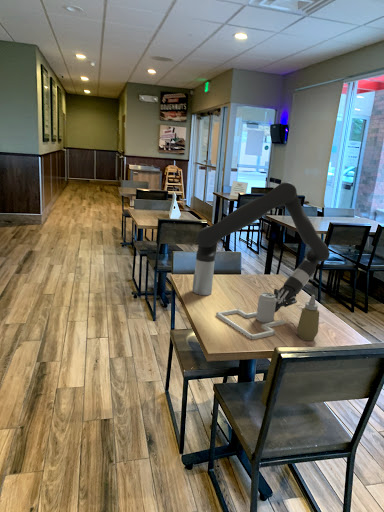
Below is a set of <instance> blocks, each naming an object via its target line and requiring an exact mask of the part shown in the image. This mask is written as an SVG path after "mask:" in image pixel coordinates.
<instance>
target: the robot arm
mask: <svg viewBox="0 0 384 512" xmlns="http://www.w3.org/2000/svg"><path fill="white" fill-rule="evenodd" d="M297 192H298V191H297V188H296V186H295V185H294V184H293V183H291V182H289V181H284V182H281V183H279V184H278V185H276V187H274V188H273V189H271V190H270V191H269V192H267V193H266V194H264V195H262V196H260V197H258V198H256V199H253V200H251V201H249V202H247V203H245V204H243V205H241V206H240V207H237V208H236V209H235V210H233V211H232V212H231V213H229V214H228V215H226V216H225V217H224V218H223V219H221V220H220V221H218V222H217V223H214V224H213V225H210V226H205V227H203V228H201V229H200V230H199V231H198V233H197V234H196V243H197V245H198V247H197V250H196V256H195V257H196V258H195V270H194V273H193V278H192V279H193V281H192V289H191V290H192V291H191V292H194V294H196V295H198V294H199V296H209V295H212V293H213V292H212V291H213V281H214V270H215V263H216V262H215V260H216V255H217V247H218V242H219V241H220V240H221V239H223V238H225V237H226V236H229V235H231V234H233V233H235V232H237V231H240V230H242V229H244V228H246V227H248V226H249V225H251V224H254V223H255V222H256V221H258V220H259V219H261V218H262V217H264V216H265V215H266V214H267V213H269V212H270V211H272V210H274V209H276V208H278V207H280V206H282V205H283V206H284V207H285V209H286V210H287V211H288V213H289V215H290V217H291V219H292V222H293V223H294V227H295V229H296V231H297V233H298V235H299V237H300V239H301V241H302V242H303V243H304V244H305V245H306V246H308V247H309V248H310V249H309V250H308V251H307V253H306V254H305V256H304V258H303V259H302V262H301V263H299V265H298V266H297V268H296V269H295V270H294V271H293V272H291V274H290V275H289V276H288V278H287V279H286V280H285V282H283V286H282V287H280V288H279V289H276V288H274V289H273V294H274V295H275V298H276V299H277V300H276V307H275V313H277V312H279V310H280V309H281V308H282V307H284V308H286V307H289V306H292V305H295V304H296V303H298V300H297V299H296V297H297V295H299V293H300V292H301V291H302V290H303V288H304V287H305V286H306V285H307V283H309V282H308V281H309V280H310V278H311V277H313V275H314V274H315V272H316V269H317V266H318V264H319V263H321V262H325V261H327V260H328V259H329V258H330V249H329V246H328V245H327V244H326V242H325V241H324V240H323V238H321V237H320V236H319V234H318V233H317V230H316V229H315V227H314V225H313V223H312V221H311V220H310V218H309V217H308V215H307V214H306V212H305V210H304V208H303V206H302V204H301V201H300V199H299V195H298V193H297Z"/></svg>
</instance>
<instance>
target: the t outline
mask: <svg viewBox="0 0 384 512" xmlns="http://www.w3.org/2000/svg"><path fill="white" fill-rule="evenodd" d="M215 314H216V315H215V316H216V317H217V318H219V319H220V320H222V321H223V322H224V323H226V324H227V323H228V325H229V326H230V325H231V327H232V328H233V327H234V328H233V329H234V330H236V331H238V332H239V331H240V332H239V333H241V334H242V333H243V334H242V335H244V336H245V335H246V336H245V337H247V338H248V337H249V338H248V339H250V340H251V339H253V340H257V339H261V338H265V337H270V336H274V335H275V334H276V330H274V329H273V328H271V327H277V326H281V325H284V324H285V320H284V319H281V320H276V321H272V322H270V323H261V329H263V330H264V331H263V332H258V333H255V334H252V333H250V332H249V331H247V330H246V329H245V328H243V327H242V326H240V325H238V324H237V323H235V322H234V321H232V320H231V319H229V318H228V317H226V316H228V315H233V314H238V315H240V316H242V317H244V318H245V319H249V318H254V317H255V318H256V315H257V311H254V312H250V313H246V312H245V311H243V310H242V309H239V308H235V309H230V310H223V311H218V312H216V313H215Z"/></svg>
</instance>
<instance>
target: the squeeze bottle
mask: <svg viewBox="0 0 384 512" xmlns="http://www.w3.org/2000/svg"><path fill="white" fill-rule="evenodd" d="M318 308H319V304H318V303H316V295H314V294H311V296H310V299H309V301H308V302H306V303H305V306H304V307H303V308H302V309H301V313H300V316H299V321H298V324H297V329H296V330H297V334H298V338H300V339H301V340H303V341H307V342H309V341H310V342H311V341H314V340H315V338H316V336H317V335H318V334H319V324H320V323H319V321H320V311H319V309H318Z"/></svg>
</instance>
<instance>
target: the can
mask: <svg viewBox="0 0 384 512" xmlns="http://www.w3.org/2000/svg"><path fill="white" fill-rule="evenodd" d="M276 300H277V299H276V298H275V295H274V293H272V292H260V295H259V296H258V300H257V301H258V302H257V309H256V312H257V315H256V316H255V318H256V320H257V321H258V322H260V323H261V324H266V323H270V322H274V319H275V307H276Z"/></svg>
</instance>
